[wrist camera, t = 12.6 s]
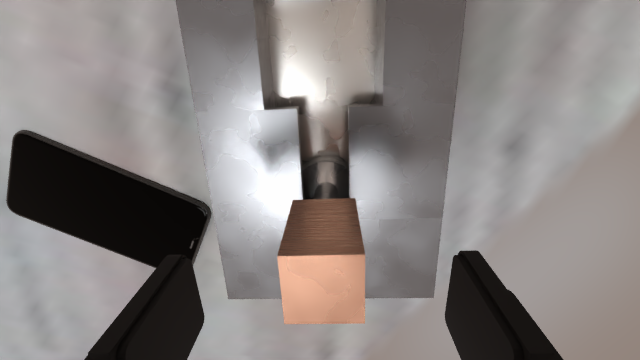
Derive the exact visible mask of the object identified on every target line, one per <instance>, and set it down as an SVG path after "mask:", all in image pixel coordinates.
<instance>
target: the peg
mask: <svg viewBox="0 0 640 360" xmlns="http://www.w3.org/2000/svg"><path fill="white" fill-rule="evenodd" d="M302 168H303V184H304V200H293V201H292V205H291V208H290V212H289V216H288V219H287V223H286V226H285V230H284V233H283V237H282V241H281V244H280V248H279V251H278V255H277V260H278V269H279V278H280V287H281V296H282V305H283V314H284V323H285V324H344V323H365V251H364V245H363V239H362V234H361V228H360V222H359V216H358V211H357V205H356V199H355V198H349V190H348V163H347V162H346V161H344V160H342V159H340V158H338V157H334V156H319V157H316V158H313V159H311V160H309V161H308V162H306V163H305V164H304V165H303V166H302Z"/></svg>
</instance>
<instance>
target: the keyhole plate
mask: <svg viewBox="0 0 640 360" xmlns="http://www.w3.org/2000/svg"><path fill="white" fill-rule="evenodd" d="M176 5H177V11H178V16H179V22H180V28H181V33H182V39H183V45H184V50H185V56H186V62H187V67H188V73H189V79H190V84H191V90H192V96H193V101H194V107H195V113H196V118H197V124H198V129H199V135H200V141H201V146H202V152H203V158H204V163H205V169H206V175H207V180H208V186H209V192H210V197H211V203H212V209H213V214H214V220H215V226H216V231H217V237H218V243H219V248H220V254H221V260H222V265H223V271H224V277H225V282H226V288H227V294H228V299H282V296H281V287H280V278H279V269H278V260H277V255H278V251H279V248H280V244H281V241H282V237H283V233H284V230H285V226H286V223H287V219H288V216H289V212H290V208H291V205H292V201H293V200H304V184H303V168H302V166H303V165H304V164H305V163H306V162H308V161H309V160H311V159H313V158H316V157H319V156H334V157H338V158H340V159H342V160H344V161H346V162H347V163H348V190H349V198H355V199H356V205H357V211H358V216H359V222H360V228H361V234H362V239H363V245H364V251H365V298H434V289H435V280H436V271H437V262H438V253H439V244H440V235H441V226H442V216H443V207H444V198H445V189H446V180H447V171H448V162H449V153H450V144H451V135H452V126H453V117H454V107H455V98H456V89H457V80H458V71H459V62H460V53H461V44H462V35H463V26H464V17H465V8H466V0H176Z"/></svg>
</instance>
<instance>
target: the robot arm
mask: <svg viewBox="0 0 640 360" xmlns="http://www.w3.org/2000/svg"><path fill="white" fill-rule="evenodd" d="M445 320H446V324H447V327H448V329H449V332H450V334H451V336H452V339H453V341H454V344H455V346H456V348H457V351H458V353H459V355H460V358H461V360H563V359H562V357H561V356H560V355H559V353H558V352H557V351H556V349H555V348H554V347H553V345H552V344H551V343H550V341H549V340H548V339H547V337H546V336H545V335H544V333H543V332H542V331H541V329H540V328H539V327H538V326H537V324H536V323H535V321H534V320H533V319H532V318H531V316H530V315H529V313H528V312H527V311H526V309H525V308H524V307H523V306H522V304H521V303H520V302H519V300H518V299H517V298H516V296H515V295H514V294H513V293H512V292H511V291H509V290H507V289H506V287H505V286H504V285H503V283H502V282H501V281H500V279H499V278H498V277H497V275H496V274H495V273H494V271H493V270H492V269H491V267H490V266H489V265H488V263H487V262H486V261H485V259H484V258H483V256H482V255H481V254H480V253H479V252H478V251H460V252H459V253H458V255H455V256H454V257H453V262H452V269H451V276H450V283H449V290H448V297H447V304H446V311H445ZM203 323H204V312H203V308H202V304H201V299H200V295H199V291H198V287H197V282H196V278H195V274H194V270H193V265H192V262H191V260H190V259H187V257H186V256H185V255H167V256H166V257H165V258H164V260H163V261H162V262H161V263H160V264H159V266H158V267H157V268H156V269H155V271H154V272H153V273H152V274H151V276H150V277H149V278H148V279H147V281H146V282H145V283H144V284H143V286H142V287H141V288H140V289H139V290H138V292H137V293H136V294H135V295H134V297H133V298H132V299H131V300H130V302H129V303H128V304H127V305H126V307H125V308H124V309H123V310H122V312H121V313H120V314H119V315H118V316H117V318H116V319H115V320H114V321H113V323H112V324H111V325H110V326H109V328H108V329H107V330H106V331H105V333H104V334H103V335H102V336H101V338H100V339H99V340H98V341H97V342H96V344H95V345H94V346H93V347H92V349H91V350H90V351H89V352H88V356H87V357H86V358H85V359H84V360H187V358H188V356H189V354H190V352H191V350H192V348H193V345H194V343H195V341H196V339H197V337H198V335H199V333H200V331H201V328H202V326H203Z"/></svg>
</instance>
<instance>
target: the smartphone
mask: <svg viewBox="0 0 640 360" xmlns="http://www.w3.org/2000/svg"><path fill="white" fill-rule="evenodd" d="M6 201H7V206H8V208H9V209H10V210H11V211H12V212H13V213H15V214H17V215H19V216H22V217H24V218H27V219H29V220H32V221H35V222H37V223H40V224H42V225H45V226H48V227H50V228H53V229H55V230H58V231H61V232H63V233H66V234H68V235H71V236H74V237H76V238H79V239H81V240H84V241H87V242H89V243H92V244H94V245H97V246H100V247H102V248H105V249H107V250H110V251H113V252H115V253H118V254H120V255H123V256H126V257H128V258H131V259H133V260H136V261H139V262H141V263H144V264H147V265H149V266H152V267H154V268H157V267H158V266H159V264H160V263H161V262H162V261H163V260H164V258H165V257H166V256H167V255H185V256H186V257H187V259H190V260H191V262H192V265H193V264H194V261H195V258H196V256H197V253H198V250H199V248H200V245H201V242H202V240H203V237H204V234H205V231H206V229H207V226H208V223H209V220H210V217H211V211H210V209H209V207H208V206H207V205H206V204H204V203H202V202H200V201H198V200H196V199H193V198H191V197H189V196H186V195H184V194H181V193H179V192H176V191H174V190H172V189H170V188H167V187H165V186H162V185H160V184H158V183H155V182H153V181H151V180H148V179H145V178H143V177H140V176H138V175H135V174H133V173H130V172H128V171H126V170H123V169H121V168H118V167H116V166H114V165H111V164H109V163H106V162H104V161H101V160H99V159H97V158H94V157H92V156H89V155H87V154H84V153H82V152H80V151H77V150H75V149H72V148H70V147H67V146H65V145H63V144H60V143H58V142H55V141H53V140H51V139H48V138H46V137H43V136H41V135H38V134H36V133H33V132H31V131H26V130H23V131H19V132H17V133H16V134H15V135H14V137H13V140H12V149H11V159H10V168H9V179H8V189H7V200H6Z"/></svg>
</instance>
